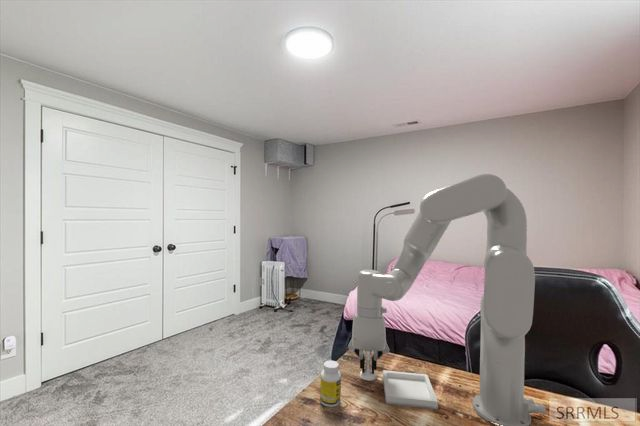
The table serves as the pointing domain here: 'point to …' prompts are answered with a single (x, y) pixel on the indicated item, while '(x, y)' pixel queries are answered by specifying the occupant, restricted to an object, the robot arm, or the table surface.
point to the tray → (409, 390)
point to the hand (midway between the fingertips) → (368, 370)
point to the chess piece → (368, 368)
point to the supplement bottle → (330, 384)
